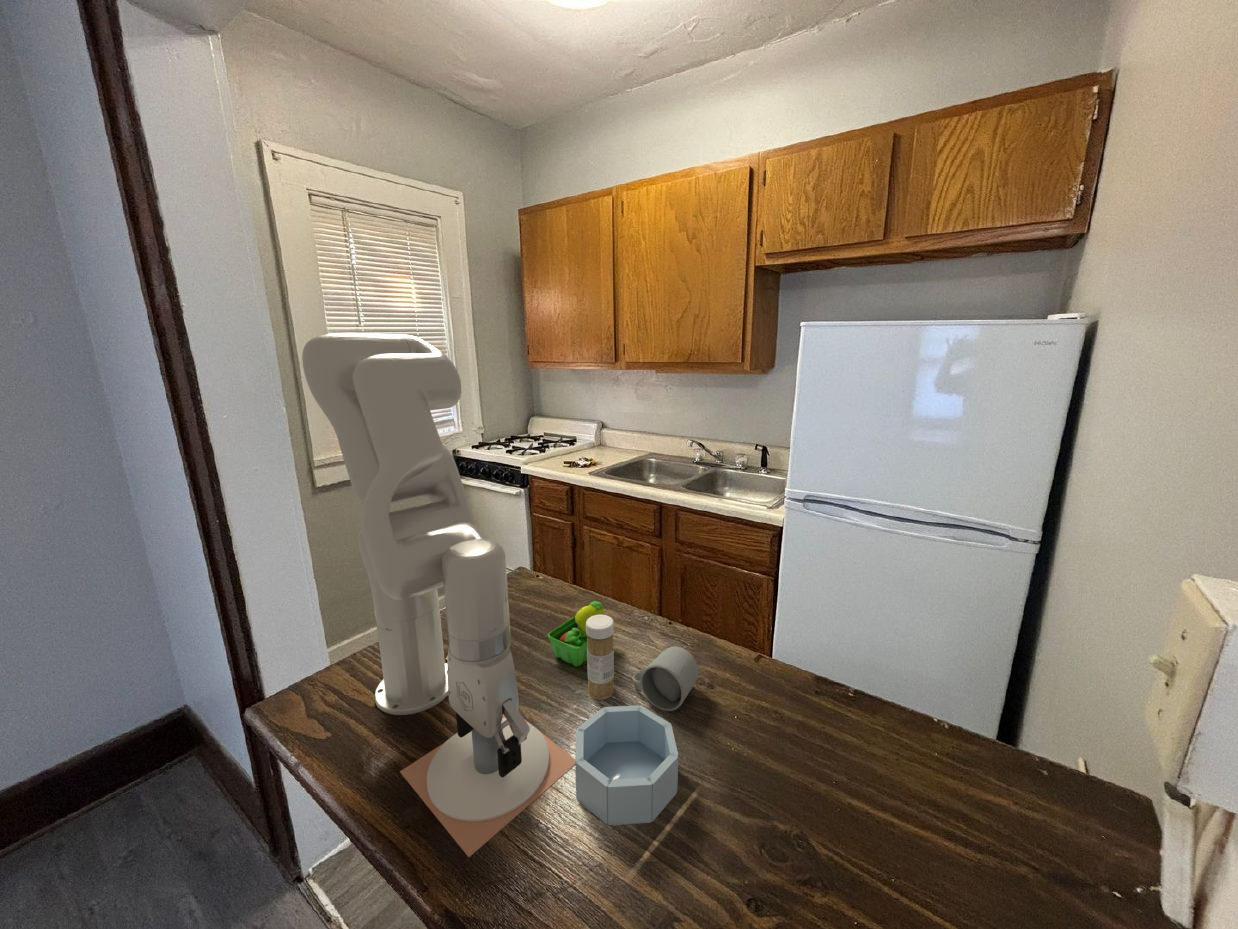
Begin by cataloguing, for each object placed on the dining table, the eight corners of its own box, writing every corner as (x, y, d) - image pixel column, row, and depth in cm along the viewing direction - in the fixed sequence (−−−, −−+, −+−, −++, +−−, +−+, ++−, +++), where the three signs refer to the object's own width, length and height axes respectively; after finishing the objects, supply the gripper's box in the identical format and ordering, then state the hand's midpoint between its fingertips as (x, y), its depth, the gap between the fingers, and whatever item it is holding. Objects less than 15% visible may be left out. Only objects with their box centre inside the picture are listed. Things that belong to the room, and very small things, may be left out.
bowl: (556, 783, 63) (554, 745, 62) (620, 727, 72) (620, 693, 71) (631, 849, 55) (632, 807, 53) (693, 775, 64) (694, 738, 63)
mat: (400, 774, 64) (399, 771, 64) (504, 706, 77) (504, 703, 77) (469, 860, 53) (468, 857, 53) (578, 764, 66) (578, 761, 66)
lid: (405, 771, 64) (400, 735, 63) (503, 707, 76) (501, 675, 75) (470, 850, 54) (466, 809, 53) (573, 761, 66) (571, 726, 64)
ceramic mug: (701, 687, 81) (702, 647, 79) (682, 718, 74) (683, 675, 72) (645, 668, 86) (645, 630, 85) (623, 696, 79) (622, 655, 78)
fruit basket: (585, 631, 98) (584, 580, 95) (620, 646, 93) (620, 593, 90) (546, 659, 89) (544, 604, 86) (582, 677, 84) (581, 620, 81)
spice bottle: (607, 680, 83) (606, 611, 80) (618, 697, 79) (618, 624, 76) (583, 688, 81) (581, 617, 78) (593, 705, 77) (592, 631, 74)
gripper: (418, 624, 63) (430, 733, 67) (494, 682, 52) (503, 808, 56) (469, 602, 69) (477, 704, 73) (547, 650, 58) (552, 767, 62)
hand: (488, 749), depth 64 cm, fingers open, 9 cm apart
